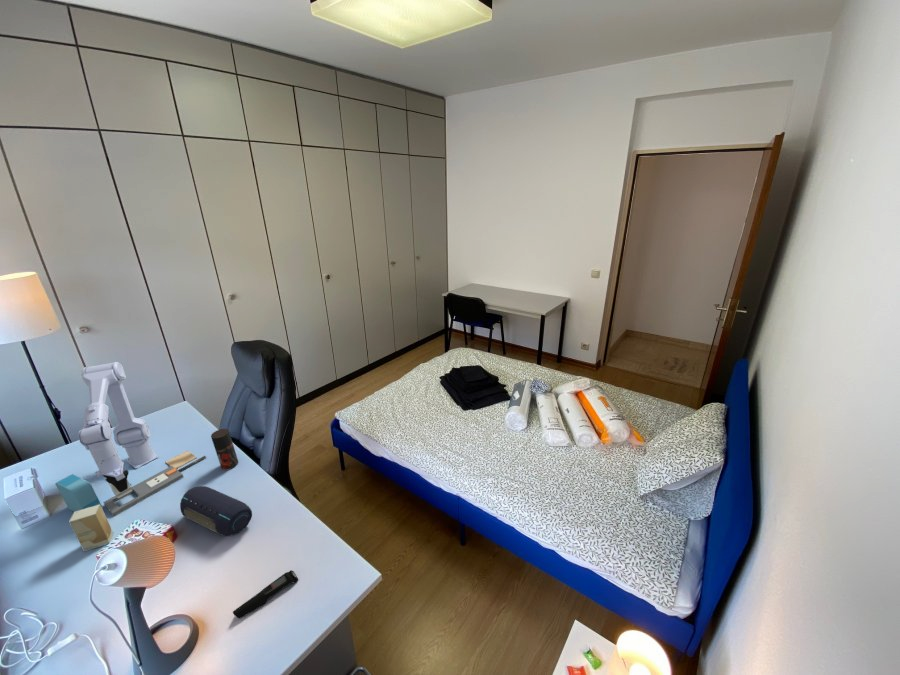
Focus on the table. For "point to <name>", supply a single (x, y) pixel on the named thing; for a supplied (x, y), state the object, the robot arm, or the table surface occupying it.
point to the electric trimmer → (266, 594)
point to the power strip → (148, 487)
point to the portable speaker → (215, 510)
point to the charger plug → (120, 494)
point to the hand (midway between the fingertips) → (121, 487)
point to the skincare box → (91, 527)
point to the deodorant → (224, 449)
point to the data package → (77, 493)
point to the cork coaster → (181, 459)
